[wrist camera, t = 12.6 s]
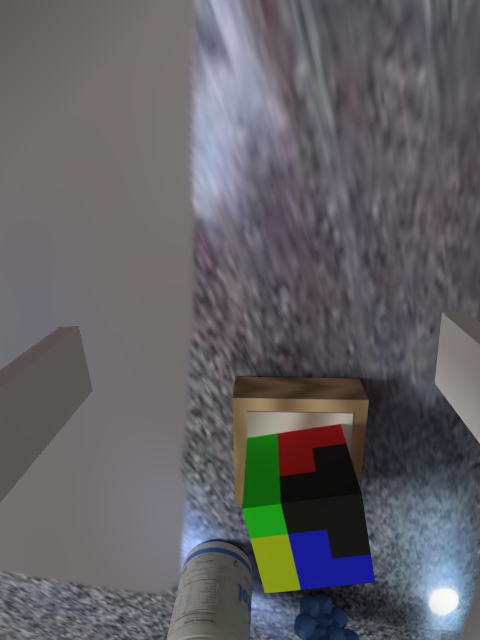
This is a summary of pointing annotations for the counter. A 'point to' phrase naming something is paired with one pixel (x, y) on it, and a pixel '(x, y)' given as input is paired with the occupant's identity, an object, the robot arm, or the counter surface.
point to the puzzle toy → (305, 511)
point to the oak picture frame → (297, 413)
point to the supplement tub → (213, 595)
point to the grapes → (322, 620)
